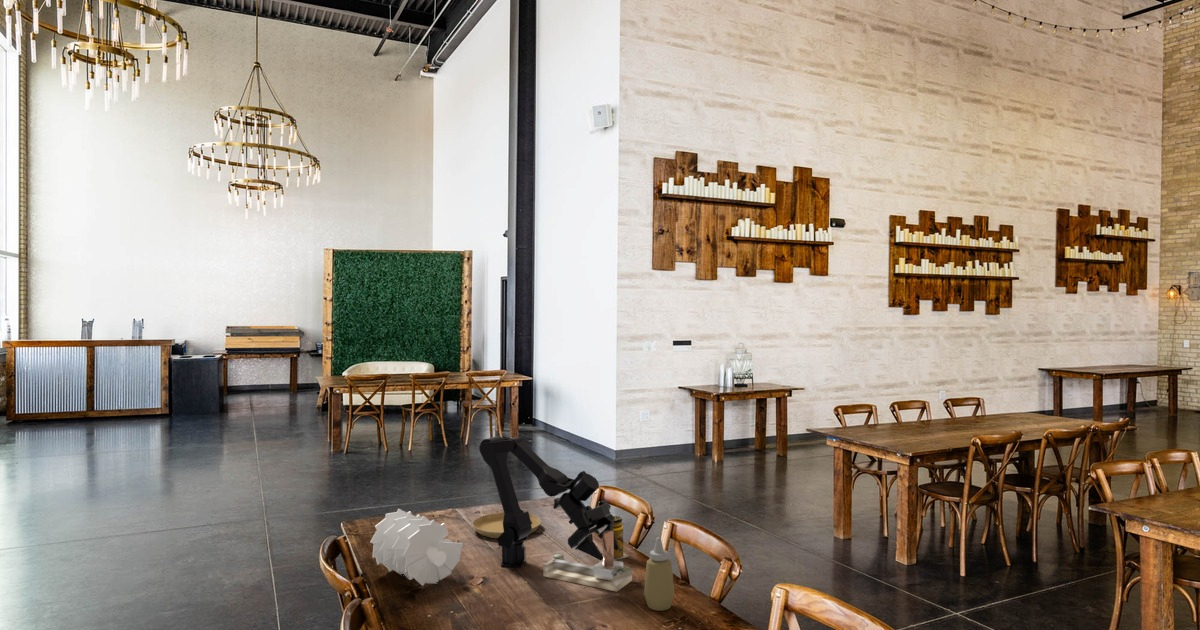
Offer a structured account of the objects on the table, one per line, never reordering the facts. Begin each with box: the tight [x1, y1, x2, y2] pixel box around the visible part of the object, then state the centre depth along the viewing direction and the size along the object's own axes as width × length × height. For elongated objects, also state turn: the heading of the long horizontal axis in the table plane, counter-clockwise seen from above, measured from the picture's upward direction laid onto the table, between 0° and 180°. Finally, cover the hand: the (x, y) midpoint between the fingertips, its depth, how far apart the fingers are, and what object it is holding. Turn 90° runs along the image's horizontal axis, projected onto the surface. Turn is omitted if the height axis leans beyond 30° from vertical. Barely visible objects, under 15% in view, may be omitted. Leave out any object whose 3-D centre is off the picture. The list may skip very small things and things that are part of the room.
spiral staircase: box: [369, 507, 464, 587], centre depth 212 cm, size 18×18×25 cm
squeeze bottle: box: [643, 537, 675, 612], centre depth 188 cm, size 8×8×18 cm
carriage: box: [592, 530, 624, 581], centre depth 205 cm, size 6×7×13 cm
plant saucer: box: [471, 511, 542, 539], centre depth 255 cm, size 24×24×3 cm
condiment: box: [600, 515, 629, 561], centre depth 227 cm, size 7×8×12 cm
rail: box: [542, 553, 633, 592], centre depth 208 cm, size 26×9×4 cm, turn 60°
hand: (610, 554), depth 205 cm, fingers open, 9 cm apart
